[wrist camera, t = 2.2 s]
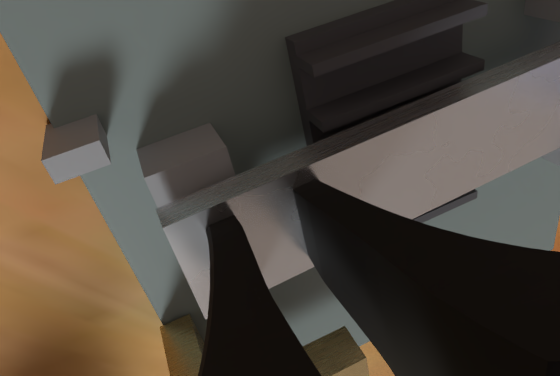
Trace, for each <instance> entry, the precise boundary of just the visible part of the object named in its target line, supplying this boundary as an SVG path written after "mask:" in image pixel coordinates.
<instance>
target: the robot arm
mask: <svg viewBox="0 0 560 376" xmlns="http://www.w3.org/2000/svg"><path fill="white" fill-rule="evenodd" d="M293 193H294V197H295V201H296V206H297V210H298V214H299V218H300V223H301V227H302V231H303V235H304V240H305V244H306V248H307V252H308V256H309V258H310V260H311V261H312V263H313V265H314V266H315V268H316V270H317V271H318V273H319V275H320V276H321V278H322V280H323V281H324V283H325V284H326V285H327V287H328V288H329V289H330V290H331V292H332V293H333V294H334V296H335V297H336V298H337V299H338V301H339V302H340V303H341V305H342V306H343V307H344V308H345V310H346V311H347V312H348V313H349V315H350V316H351V317H352V318H353V320H354V321H355V322H356V324H357V325H358V326H359V327H360V329H361V330H362V331H363V332H364V334H365V335H366V336H367V337H368V339H369V340H370V341H371V342H372V344H373V345H374V346H375V348H376V349H377V350H378V352H379V353H380V354H381V356H382V357H383V358H384V360H385V361H386V363H387V364H388V365H389V367H390V368H391V370H392V372H393V373H394V375H395V376H560V252H556V251H547V250H541V249H534V248H527V247H521V246H516V245H510V244H505V243H500V242H494V241H489V240H484V239H480V238H475V237H471V236H467V235H463V234H459V233H456V232H452V231H448V230H444V229H440V228H437V227H434V226H430V225H427V224H424V223H421V222H418V221H415V220H412V219H409V218H406V217H403V216H400V215H398V214H395V213H392V212H390V211H387V210H384V209H382V208H379V207H377V206H374V205H372V204H370V203H367V202H365V201H363V200H360V199H358V198H356V197H353V196H351V195H349V194H347V193H344V192H342V191H340V190H338V189H336V188H334V187H331V186H329V185H327V184H325V183H323V182H320V181H318V180H313V181H311V182H309V183H306V184H304V185H302V186H300V187H297V188H295V189H293ZM206 234H207V239H208V245H209V256H210V294H209V306H208V318H207V327H206V334H205V341H204V347H203V353H202V358H201V364H200V368H199V373H198V376H321V374H320V373H319V371H318V370H317V368H316V367H315V365H314V364H313V362H312V360H311V359H310V357H309V356H308V354H307V353H306V351H305V349H304V348H303V346H302V345H301V343H300V341H299V340H298V338H297V337H296V335H295V334H294V332H293V330H292V329H291V327H290V326H289V324H288V322H287V321H286V319H285V317H284V316H283V314H282V312H281V311H280V309H279V307H278V306H277V304H276V302H275V301H274V299H273V297H272V295H271V293H270V291H269V289H268V287H267V285H266V283H265V280H264V278H263V275H262V273H261V270H260V268H259V266H258V263H257V261H256V258H255V256H254V253H253V251H252V248H251V246H250V243H249V241H248V239H247V236H246V234H245V231H244V229H243V227H242V225H241V224H240V222H239V221H238V219H237V218H236V216H235V215H232V216H230V217H227V218H225V219H223V220H220V221H218V222H215V223H213V224H211V225H209V226H208V227H207V229H206Z"/></svg>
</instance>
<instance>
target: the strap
mask: <svg viewBox="0 0 560 376" xmlns="http://www.w3.org/2000/svg"><path fill="white" fill-rule="evenodd" d="M558 148H560V41H558V42H556V43H553V44H551V45H549V46H546V47H544V48H541V49H539V50H537V51H534V52H532V53H529V54H527V55H525V56H522V57H520V58H517V59H515V60H512V61H510V62H508V63H505V64H503V65H500V66H498V67H496V68H493V69H491V70H488V71H486V72H484V73H481V74H479V75H476V76H474V77H472V78H469V79H467V80H464V81H462V82H460V83H457V84H455V85H452V86H450V87H448V88H445V89H443V90H440V91H438V92H436V93H433V94H431V95H428V96H426V97H423V98H421V99H419V100H416V101H414V102H411V103H409V104H407V105H404V106H402V107H399V108H397V109H395V110H392V111H390V112H387V113H385V114H383V115H380V116H378V117H375V118H373V119H371V120H368V121H366V122H363V123H361V124H359V125H356V126H354V127H351V128H349V129H346V130H344V131H342V132H339V133H337V134H334V135H332V136H330V137H327V138H325V139H322V140H320V141H318V142H315V143H313V144H310V145H308V146H306V147H303V148H301V149H298V150H296V151H294V152H291V153H289V154H286V155H284V156H282V157H279V158H277V159H274V160H272V161H269V162H267V163H265V164H262V165H260V166H257V167H255V168H253V169H250V170H248V171H245V172H243V173H241V174H238V175H236V176H233V177H231V178H229V179H226V180H224V181H221V182H219V183H217V184H214V185H212V186H209V187H207V188H205V189H202V190H200V191H197V192H195V193H193V194H190V195H188V196H185V197H183V198H180V199H178V200H176V201H173V202H171V203H168V204H166V205H164V206H161V207H159V208H156V211H157V214H158V217H159V220H160V222H161V225H162V228H163V230H164V232H165V234H166V236H167V239H168V241H169V243H170V245H171V247H172V249H173V251H174V254H175V256H176V258H177V260H178V262H179V264H180V266H181V269H182V271H183V273H184V275H185V277H186V279H187V281H188V284H189V286H190V288H191V290H192V292H193V294H194V296H195V298H196V301H197V303H198V305H199V307H200V309H201V311H202V313H203V316H204V318H205V320H206V319H207V318H208V306H209V294H210V256H209V245H208V239H207V234H206V229H207V227H208V226H209V225H211V224H213V223H215V222H218V221H220V220H223V219H225V218H227V217H230V216H232V215H235V216H236V218H237V219H238V221H239V222H240V224H241V225H242V227H243V229H244V231H245V234H246V236H247V239H248V241H249V243H250V246H251V248H252V251H253V253H254V256H255V258H256V261H257V263H258V266H259V268H260V270H261V273H262V275H263V278H264V280H265V283H266V285H267V287H268V289H270V288H272V287H274V286H276V285H278V284H280V283H282V282H284V281H286V280H288V279H290V278H292V277H294V276H297V275H299V274H301V273H303V272H305V271H307V270H309V269H311V268H313V267H315V266H314V265H313V263H312V261H311V260H310V258H309V256H308V252H307V248H306V244H305V240H304V235H303V231H302V227H301V223H300V218H299V214H298V210H297V206H296V201H295V197H294V193H293V189H295V188H297V187H300V186H302V185H304V184H306V183H309V182H311V181H313V180H318V181H320V182H323V183H325V184H327V185H329V186H331V187H334V188H336V189H338V190H340V191H342V192H344V193H347V194H349V195H351V196H353V197H356V198H358V199H360V200H363V201H365V202H367V203H370V204H372V205H374V206H377V207H379V208H382V209H384V210H387V211H390V212H392V213H395V214H398V215H400V216H403V217H406V218H409V219H414V218H416V217H418V216H420V215H422V214H424V213H426V212H428V211H430V210H432V209H434V208H436V207H439V206H441V205H443V204H445V203H447V202H449V201H451V200H453V199H455V198H457V197H459V196H461V195H463V194H465V193H467V192H469V191H471V190H473V189H476V188H478V187H480V186H482V185H484V184H486V183H488V182H490V181H492V180H494V179H496V178H498V177H500V176H502V175H504V174H506V173H508V172H511V171H513V170H515V169H517V168H519V167H521V166H523V165H525V164H527V163H529V162H531V161H533V160H535V159H537V158H539V157H541V156H543V155H546V154H548V153H550V152H552V151H554V150H556V149H558Z"/></svg>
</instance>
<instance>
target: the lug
mask: <svg viewBox="0 0 560 376" xmlns="http://www.w3.org/2000/svg"><path fill="white" fill-rule="evenodd" d="M160 330H161V335H162V339H163V344H164V349H165V354H166V358H167V363H168V368H169V372H170V376H198V373H199V368H200V364H201V358H202V353H203V347H204V342H203V340H202V338H201V336H200V334H199V332H198V330H197V328H196V326H195V324H194V322H193V320H192V318H191V316H190V314H188V315H185V316H183V317H181V318H179V319H176V320H174V321H172V322H170V323H168V324H165V325H163V326H161V327H160ZM303 348H304V349H305V351H306V353H307V354H308V356H309V357H310V359H311V360H312V362H313V364H314V365H315V367H316V368H317V370H318V371H319V373H320V374H321V376H369V371H368V365H367V359H366V357H365V355H364V354H363V352H362V351H361V349H360V348H359V346H358V345H357V343H356V342H355V340H354V339H353V337H352V336H351V334H350V333H349V331H348V330H347V328H346V327H345V326H343V327H341V328H339V329H337V330H335V331H333V332H331V333H329V334H327V335H325V336H323V337H321V338H319V339H317V340H315V341H313V342H311V343H309V344H307V345H304V346H303Z"/></svg>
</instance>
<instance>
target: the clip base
mask: <svg viewBox="0 0 560 376" xmlns="http://www.w3.org/2000/svg"><path fill="white" fill-rule="evenodd" d="M0 33H1V34H2V36H3V38H4V40H5V42H6V43H7V45H8V47H9V49H10V50H11V52H12V54H13V56H14V58H15V59H16V61H17V63H18V65H19V67H20V68H21V70H22V72H23V74H24V76H25V77H26V79H27V81H28V83H29V85H30V86H31V88H32V90H33V92H34V94H35V95H36V97H37V99H38V101H39V103H40V104H41V106H42V108H43V110H44V112H45V113H46V115H47V117H48V119H49V121H50V122H51V124H48V125H46V129H45V137H44V144H43V151H42V159H41V161H42V163H43V165H44V166H45V168H46V170H47V171H48V173H49V174H50V176H51V178H52V179H53V181H54V183H55V184H58V183H61V182H64V181H66V180H69V179H72V178H75V177H77V176H81V178H82V180H83V182H84V183H85V185H86V187H87V189H88V191H89V192H90V194H91V196H92V198H93V200H94V201H95V203H96V205H97V207H98V209H99V210H100V212H101V214H102V216H103V218H104V219H105V221H106V223H107V225H108V227H109V228H110V230H111V232H112V234H113V236H114V237H115V239H116V241H117V243H118V245H119V246H120V248H121V250H122V252H123V254H124V255H125V257H126V259H127V261H128V263H129V264H130V266H131V268H132V270H133V272H134V273H135V275H136V277H137V279H138V281H139V282H140V284H141V286H142V288H143V290H144V291H145V293H146V295H147V297H148V298H149V300H150V302H151V304H152V306H153V307H154V309H155V311H156V313H157V315H158V316H159V318H160V320H161V322H162V324H163V325H165V324H168V323H170V322H172V321H174V320H176V319H179V318H181V317H183V316H185V315H188V314H190V316H191V318H192V320H193V322H194V324H195V326H196V328H197V330H198V332H199V334H200V336H201V338H202V340H203V342H204V341H205V334H206V327H207V319H206V320H205V318H204V316H203V313H202V311H201V309H200V307H199V305H198V303H197V301H196V298H195V296H194V294H193V292H192V290H191V288H190V286H189V284H188V281H187V279H186V277H185V275H184V273H183V271H182V269H181V266H180V264H179V262H178V260H177V258H176V256H175V254H174V251H173V249H172V247H171V245H170V243H169V241H168V239H167V236H166V234H165V232H164V230H163V228H162V225H161V222H160V220H159V217H158V214H157V211H156V208H159V207H161V206H164V205H166V204H168V203H171V202H173V201H176V200H178V199H180V198H183V197H185V196H188V195H190V194H193V193H195V192H197V191H200V190H202V189H205V188H207V187H209V186H212V185H214V184H217V183H219V182H221V181H224V180H226V179H229V178H231V177H233V176H236V175H238V174H241V173H243V172H245V171H248V170H250V169H253V168H255V167H257V166H260V165H262V164H265V163H267V162H269V161H272V160H274V159H277V158H279V157H282V156H284V155H286V154H289V153H291V152H294V151H296V150H298V149H301V148H303V147H306V146H308V145H310V144H313V143H315V142H318V141H320V140H322V139H325V138H327V137H330V136H332V135H334V134H337V133H339V132H342V131H344V130H346V129H349V128H351V127H354V126H356V125H359V124H361V123H363V122H366V121H368V120H371V119H373V118H375V117H378V116H380V115H383V114H385V113H387V112H390V111H392V110H395V109H397V108H399V107H402V106H404V105H407V104H409V103H411V102H414V101H416V100H419V99H421V98H423V97H426V96H428V95H431V94H433V93H436V92H438V91H440V90H443V89H445V88H448V87H450V86H452V85H455V84H457V83H460V82H462V81H464V80H467V79H469V78H472V77H474V76H476V75H479V74H481V73H484V72H486V71H488V70H491V69H493V68H496V67H498V66H500V65H503V64H505V63H508V62H510V61H512V60H515V59H517V58H520V57H522V56H525V55H527V54H529V53H532V52H534V51H537V50H539V49H541V48H544V47H546V46H549V45H551V44H553V43H556V42H558V41H560V0H0ZM559 215H560V148H558V149H556V150H554V151H552V152H550V153H548V154H546V155H543V156H541V157H539V158H537V159H535V160H533V161H531V162H529V163H527V164H525V165H523V166H521V167H519V168H517V169H515V170H513V171H511V172H508V173H506V174H504V175H502V176H500V177H498V178H496V179H494V180H492V181H490V182H488V183H486V184H484V185H482V186H480V187H478V188H476V189H473V190H471V191H469V192H467V193H465V194H463V195H461V196H459V197H457V198H455V199H453V200H451V201H449V202H447V203H445V204H443V205H441V206H439V207H436V208H434V209H432V210H430V211H428V212H426V213H424V214H422V215H420V216H418V217H416V218H414V219H412V220H415V221H418V222H421V223H424V224H427V225H430V226H434V227H437V228H440V229H444V230H448V231H452V232H456V233H459V234H463V235H467V236H471V237H475V238H480V239H484V240H489V241H494V242H500V243H505V244H510V245H516V246H521V247H527V248H534V249H541V250H547V251H550V250H552V249H553V247H554V242H555V236H556V231H557V226H558V221H559ZM269 291H270V293H271V295H272V297H273V299H274V301H275V302H276V304H277V306H278V307H279V309H280V311H281V312H282V314H283V316H284V317H285V319H286V321H287V322H288V324H289V326H290V327H291V329H292V330H293V332H294V334H295V335H296V337H297V338H298V340H299V341H300V343H301V345H302V346H304V345H307V344H309V343H311V342H313V341H315V340H317V339H319V338H321V337H323V336H325V335H327V334H329V333H331V332H333V331H335V330H337V329H339V328H341V327H343V326H345V327H346V328H347V330H348V331H349V333H350V334H351V336H352V337H353V339H354V340H355V342H356V343H357V345H358V346H361V345H363V344H365V343H367V342H369V341H370V340H369V339H368V337H367V336H366V335H365V334H364V332H363V331H362V330H361V329H360V327H359V326H358V325H357V324H356V322H355V321H354V320H353V318H352V317H351V316H350V315H349V313H348V312H347V311H346V310H345V308H344V307H343V306H342V305H341V303H340V302H339V301H338V299H337V298H336V297H335V296H334V294H333V293H332V292H331V290H330V289H329V288H328V287H327V285H326V284H325V283H324V281H323V280H322V278H321V276H320V275H319V273H318V271H317V270H316V268H315V267H313V268H311V269H309V270H307V271H305V272H303V273H301V274H299V275H297V276H294V277H292V278H290V279H288V280H286V281H284V282H282V283H280V284H278V285H276V286H274V287H272V288H270V289H269Z"/></svg>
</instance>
